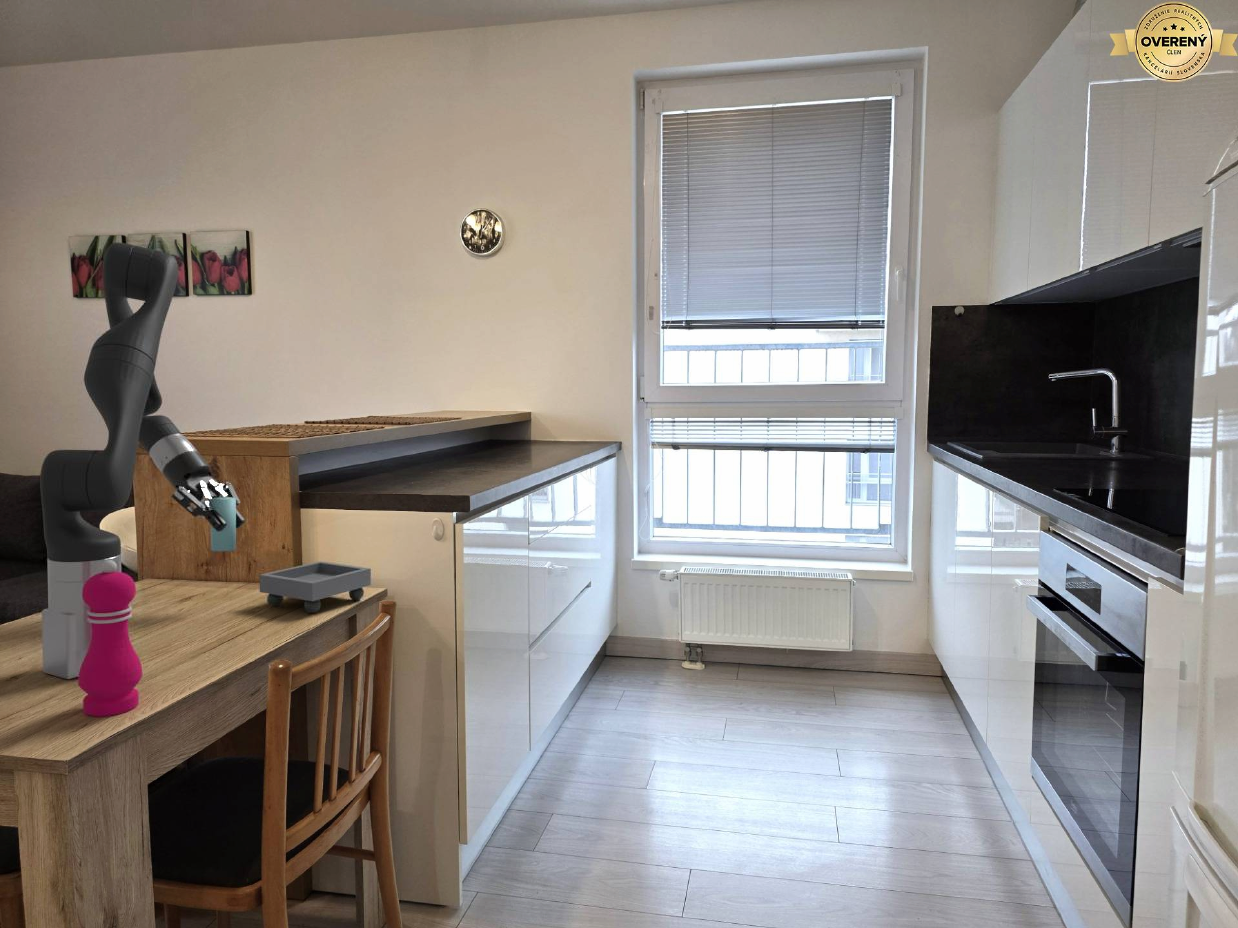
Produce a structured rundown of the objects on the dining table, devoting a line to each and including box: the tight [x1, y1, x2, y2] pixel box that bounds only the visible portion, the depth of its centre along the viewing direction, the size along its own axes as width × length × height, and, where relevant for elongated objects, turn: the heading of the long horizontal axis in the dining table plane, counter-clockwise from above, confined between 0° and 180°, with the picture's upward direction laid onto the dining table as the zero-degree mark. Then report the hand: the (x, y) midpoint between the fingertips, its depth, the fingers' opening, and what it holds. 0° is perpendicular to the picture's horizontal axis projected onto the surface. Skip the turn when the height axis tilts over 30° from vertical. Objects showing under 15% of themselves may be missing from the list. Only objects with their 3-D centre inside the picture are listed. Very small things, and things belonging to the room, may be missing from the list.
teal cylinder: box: [210, 496, 237, 552], centre depth 155 cm, size 4×4×10 cm
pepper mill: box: [77, 560, 143, 717], centre depth 106 cm, size 7×7×20 cm
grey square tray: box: [259, 560, 372, 614], centre depth 163 cm, size 16×14×6 cm
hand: (231, 526), depth 155 cm, fingers closed on teal cylinder, 4 cm apart
